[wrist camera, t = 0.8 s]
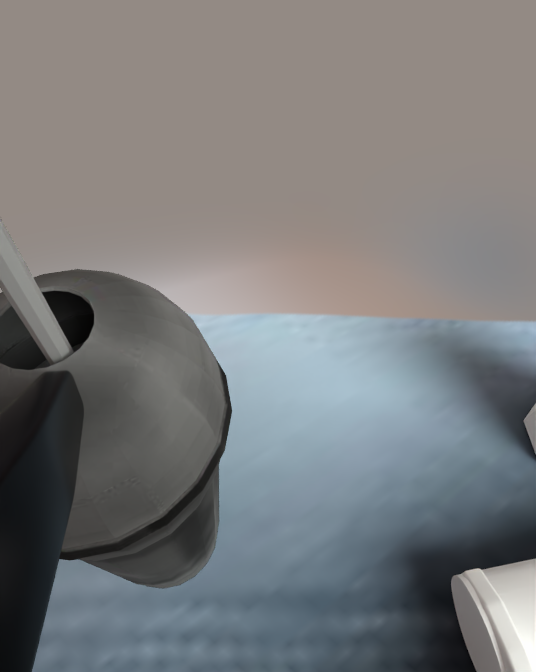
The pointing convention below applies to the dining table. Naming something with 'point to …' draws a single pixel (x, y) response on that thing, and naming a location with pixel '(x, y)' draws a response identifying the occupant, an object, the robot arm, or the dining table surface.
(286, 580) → the dining table surface
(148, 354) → the beverage cup
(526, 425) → the salt shaker
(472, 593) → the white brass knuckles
